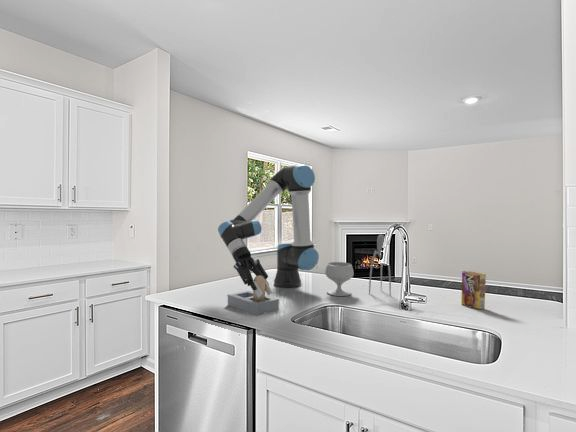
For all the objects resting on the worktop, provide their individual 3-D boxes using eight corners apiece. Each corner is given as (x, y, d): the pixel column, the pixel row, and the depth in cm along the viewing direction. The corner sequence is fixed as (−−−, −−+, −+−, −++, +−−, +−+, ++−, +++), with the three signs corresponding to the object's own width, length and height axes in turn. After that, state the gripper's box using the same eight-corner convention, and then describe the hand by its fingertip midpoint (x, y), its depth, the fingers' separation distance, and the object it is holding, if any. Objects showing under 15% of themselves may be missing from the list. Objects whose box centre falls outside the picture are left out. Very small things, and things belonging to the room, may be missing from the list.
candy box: (485, 308, 155) (486, 273, 154) (478, 309, 153) (479, 274, 152) (467, 303, 163) (468, 270, 162) (460, 304, 161) (461, 271, 160)
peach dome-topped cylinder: (259, 299, 153) (260, 273, 153) (267, 301, 149) (267, 275, 149) (250, 301, 150) (250, 275, 149) (258, 303, 146) (258, 277, 146)
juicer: (384, 297, 172) (385, 235, 171) (368, 293, 179) (370, 234, 178) (396, 294, 179) (397, 234, 178) (380, 290, 186) (382, 233, 185)
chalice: (322, 295, 174) (323, 265, 173) (327, 289, 187) (328, 261, 187) (351, 298, 170) (352, 267, 169) (354, 291, 183) (355, 262, 183)
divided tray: (249, 300, 164) (249, 290, 164) (278, 309, 150) (278, 299, 150) (227, 305, 156) (227, 294, 156) (256, 315, 142) (256, 304, 141)
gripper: (250, 254, 166) (275, 296, 156) (219, 258, 152) (245, 304, 142) (258, 244, 162) (285, 286, 152) (227, 247, 149) (254, 293, 138)
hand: (265, 294), depth 147 cm, fingers closed on peach dome-topped cylinder, 5 cm apart
